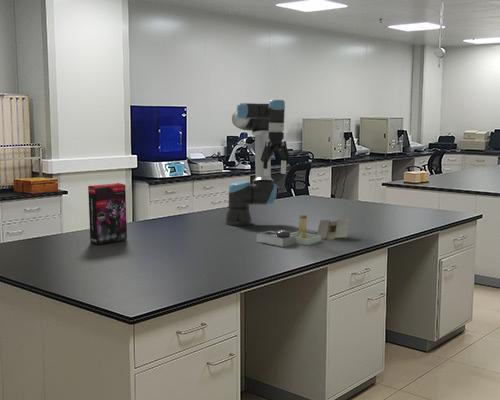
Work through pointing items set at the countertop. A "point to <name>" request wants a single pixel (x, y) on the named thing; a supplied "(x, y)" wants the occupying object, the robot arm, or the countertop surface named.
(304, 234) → the lock pin
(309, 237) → the tray
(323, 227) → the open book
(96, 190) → the graphics card box
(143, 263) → the countertop surface
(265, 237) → the base
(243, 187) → the robot arm
